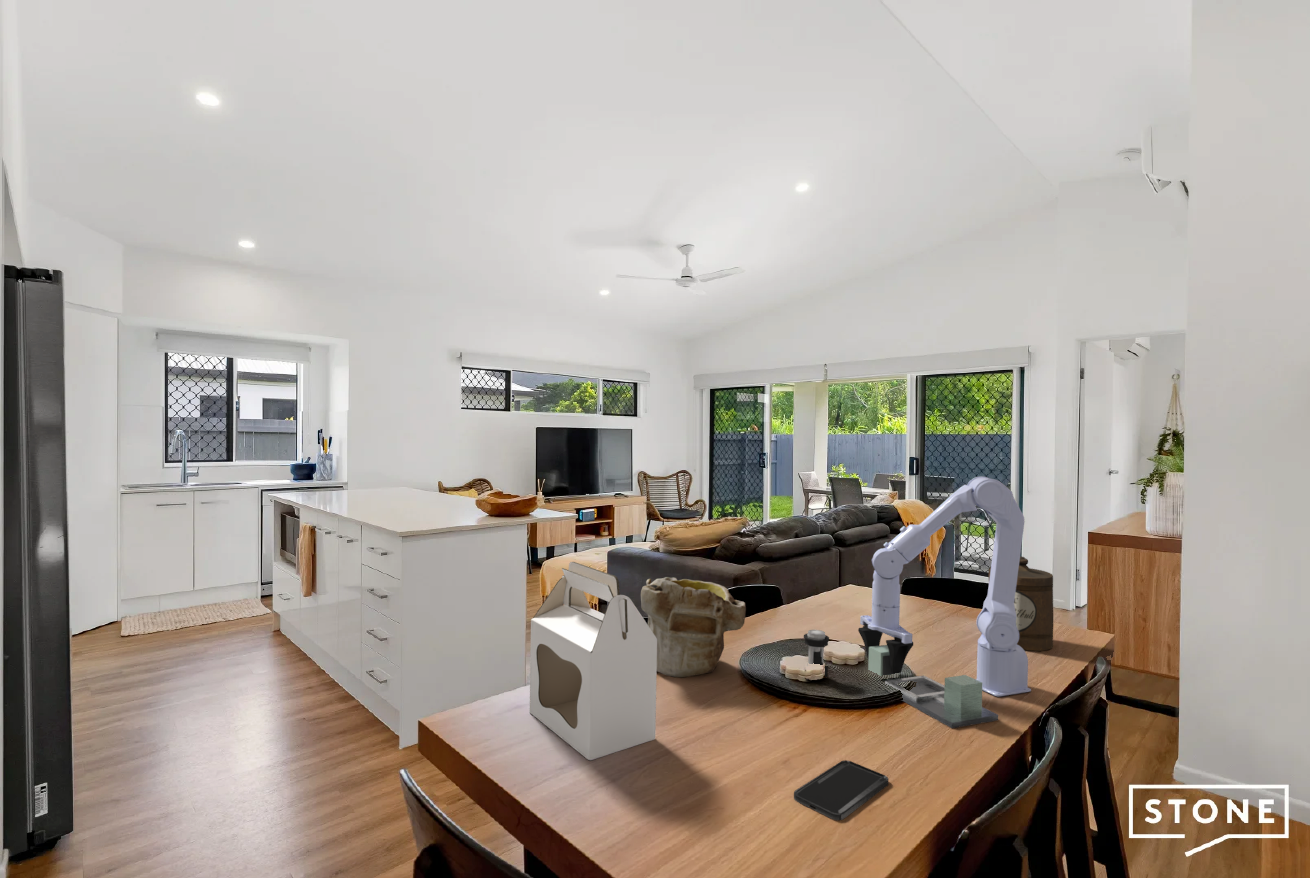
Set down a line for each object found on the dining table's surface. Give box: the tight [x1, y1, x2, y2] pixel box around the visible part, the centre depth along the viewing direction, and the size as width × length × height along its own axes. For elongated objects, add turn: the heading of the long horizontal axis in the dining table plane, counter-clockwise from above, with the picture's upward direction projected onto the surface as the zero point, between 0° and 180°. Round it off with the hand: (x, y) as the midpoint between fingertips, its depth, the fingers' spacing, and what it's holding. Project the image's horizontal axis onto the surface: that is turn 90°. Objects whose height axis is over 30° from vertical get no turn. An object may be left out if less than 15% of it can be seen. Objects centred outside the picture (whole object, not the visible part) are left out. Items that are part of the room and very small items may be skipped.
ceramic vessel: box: [640, 576, 747, 678], centre depth 146 cm, size 23×24×25 cm
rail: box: [884, 674, 999, 729], centre depth 129 cm, size 20×11×7 cm, turn 20°
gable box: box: [529, 561, 658, 761], centre depth 116 cm, size 22×13×28 cm, turn 36°
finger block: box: [867, 644, 893, 676], centre depth 143 cm, size 4×5×6 cm
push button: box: [803, 629, 830, 677], centre depth 140 cm, size 7×5×10 cm
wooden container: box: [988, 555, 1054, 652], centre depth 169 cm, size 15×15×22 cm
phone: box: [793, 759, 889, 821], centre depth 97 cm, size 8×1×15 cm
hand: (884, 666), depth 143 cm, fingers open, 7 cm apart
